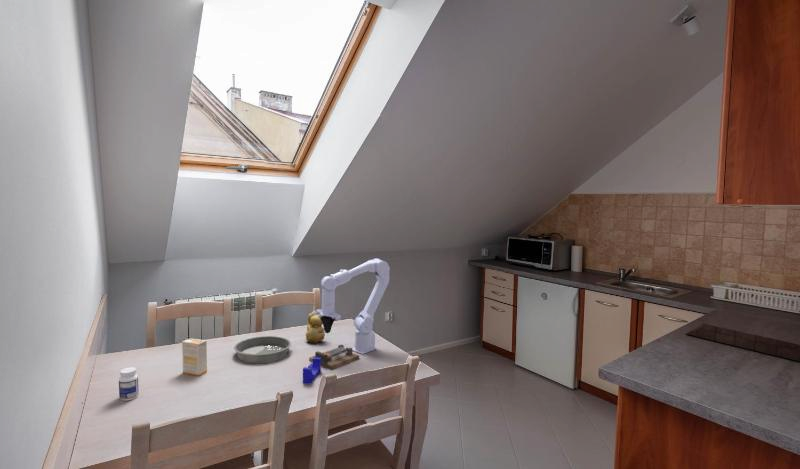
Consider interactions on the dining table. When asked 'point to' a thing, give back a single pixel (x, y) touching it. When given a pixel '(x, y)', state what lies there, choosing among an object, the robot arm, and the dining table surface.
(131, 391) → the pill bottle
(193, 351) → the supplement box
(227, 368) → the dining table surface
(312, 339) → the decorative figurine
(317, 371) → the cable clip
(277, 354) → the cake pan
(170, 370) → the dining table surface
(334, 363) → the clamp board
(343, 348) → the tan and grey block
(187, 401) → the dining table surface
